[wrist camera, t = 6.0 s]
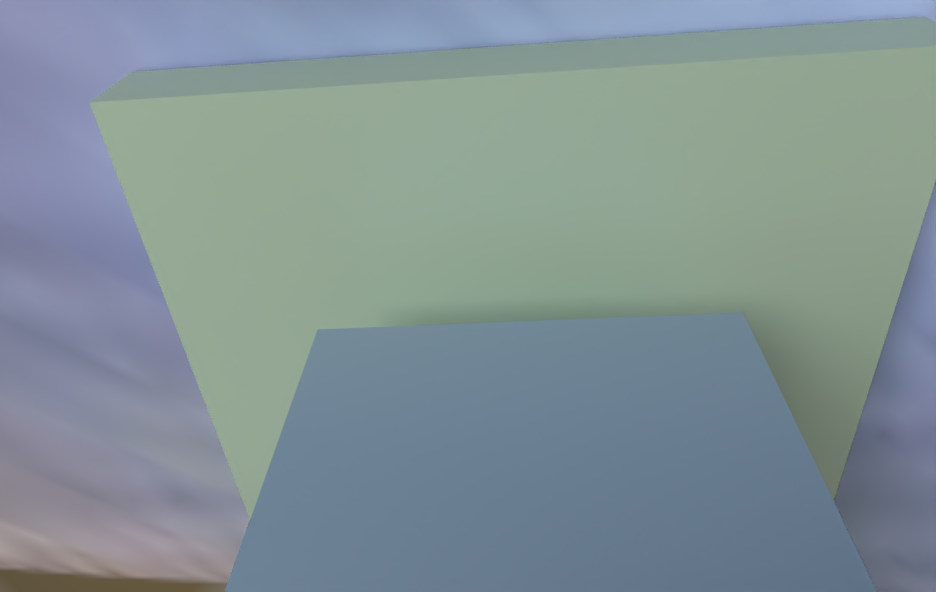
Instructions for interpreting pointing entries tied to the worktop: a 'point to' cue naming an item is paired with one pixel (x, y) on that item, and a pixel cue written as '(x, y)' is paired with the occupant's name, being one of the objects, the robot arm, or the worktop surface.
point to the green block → (536, 201)
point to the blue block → (544, 465)
